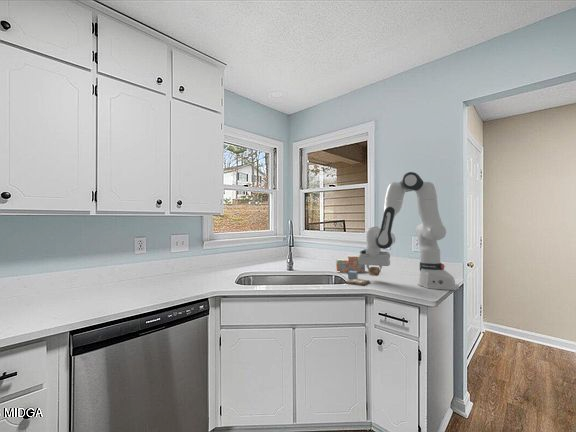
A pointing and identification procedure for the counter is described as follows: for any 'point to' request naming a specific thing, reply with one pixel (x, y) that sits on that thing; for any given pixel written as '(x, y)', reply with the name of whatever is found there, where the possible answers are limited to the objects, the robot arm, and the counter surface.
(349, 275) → the slate block
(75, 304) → the counter surface
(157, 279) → the counter surface
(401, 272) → the counter surface
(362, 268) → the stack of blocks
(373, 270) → the oak block
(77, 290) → the counter surface
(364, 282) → the baseplate
